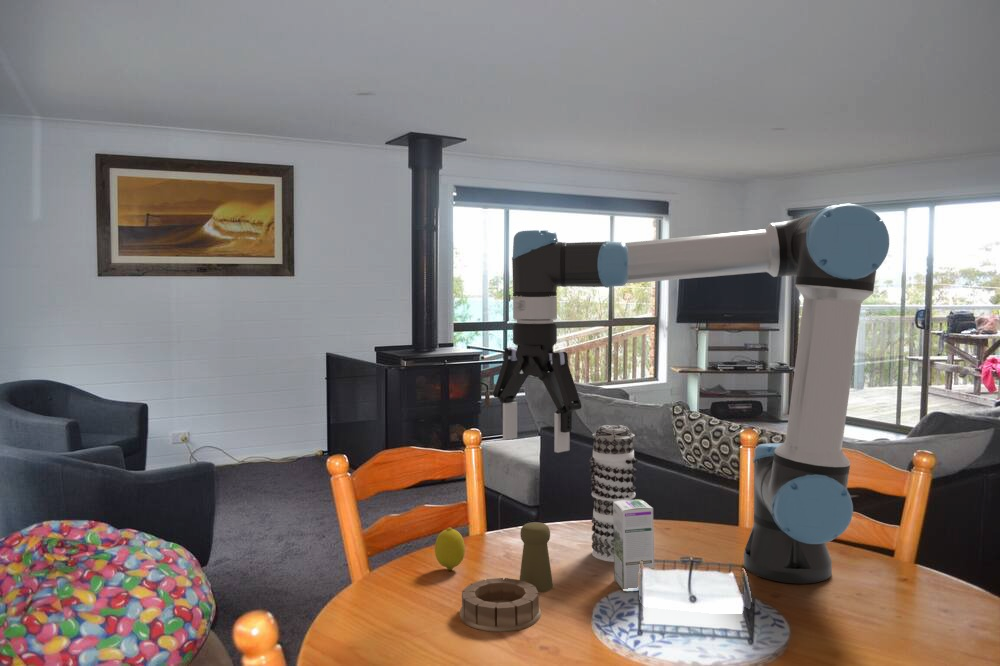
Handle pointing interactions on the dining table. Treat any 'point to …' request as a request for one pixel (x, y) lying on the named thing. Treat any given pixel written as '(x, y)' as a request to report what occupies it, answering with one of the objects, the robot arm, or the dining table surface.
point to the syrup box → (632, 540)
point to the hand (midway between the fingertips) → (535, 444)
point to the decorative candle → (610, 483)
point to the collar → (500, 605)
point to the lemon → (449, 548)
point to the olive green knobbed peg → (536, 556)
